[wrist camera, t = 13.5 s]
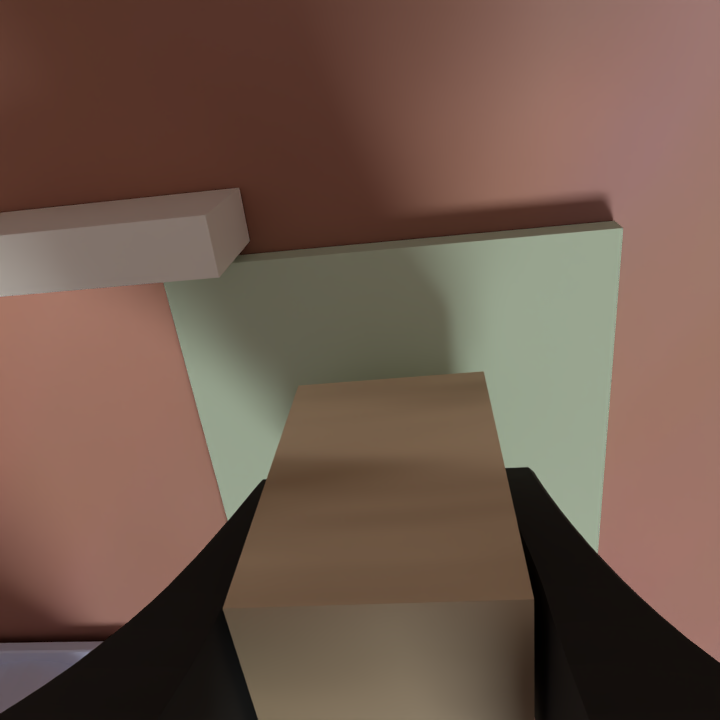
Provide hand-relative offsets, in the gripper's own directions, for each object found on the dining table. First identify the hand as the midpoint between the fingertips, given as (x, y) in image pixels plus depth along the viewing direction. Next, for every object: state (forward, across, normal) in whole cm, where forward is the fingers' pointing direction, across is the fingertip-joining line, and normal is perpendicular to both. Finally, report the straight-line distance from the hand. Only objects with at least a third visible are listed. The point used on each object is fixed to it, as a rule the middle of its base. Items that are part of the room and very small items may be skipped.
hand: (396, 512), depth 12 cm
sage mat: (+4, 0, 0) cm, 4 cm away
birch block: (+2, 0, 0) cm, 2 cm away
